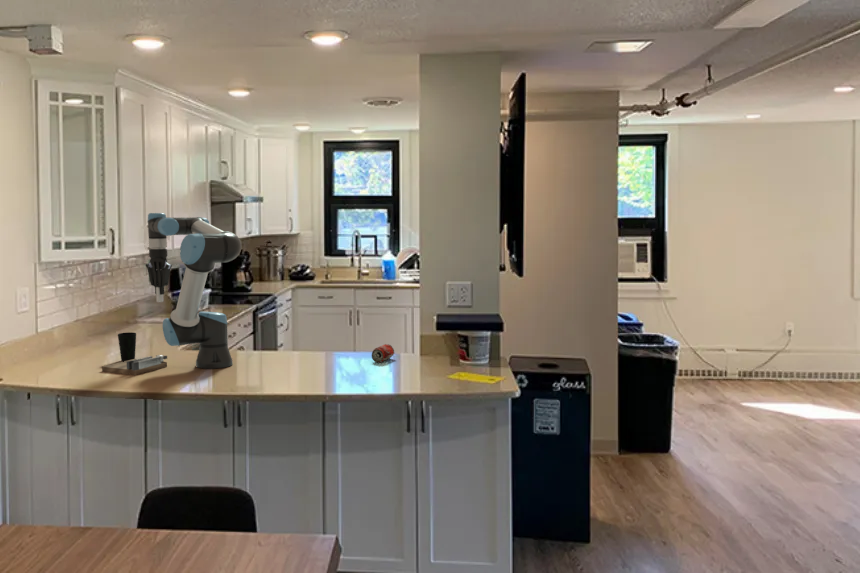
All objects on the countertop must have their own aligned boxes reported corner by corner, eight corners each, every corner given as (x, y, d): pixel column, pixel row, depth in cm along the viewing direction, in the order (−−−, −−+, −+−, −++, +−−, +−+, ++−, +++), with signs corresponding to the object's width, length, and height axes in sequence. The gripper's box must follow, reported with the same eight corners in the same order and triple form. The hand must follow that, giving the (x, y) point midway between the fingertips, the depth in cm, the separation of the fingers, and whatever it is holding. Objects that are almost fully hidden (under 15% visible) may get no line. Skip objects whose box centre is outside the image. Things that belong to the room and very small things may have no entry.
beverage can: (369, 363, 330) (369, 348, 329) (380, 358, 341) (379, 343, 340) (384, 364, 328) (384, 349, 327) (394, 359, 339) (394, 344, 338)
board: (167, 366, 323) (166, 362, 322) (135, 375, 306) (134, 370, 306) (135, 363, 330) (134, 358, 330) (102, 371, 313) (101, 366, 313)
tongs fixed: (169, 361, 324) (169, 354, 323) (134, 370, 305) (134, 363, 305) (162, 360, 325) (162, 353, 325) (127, 369, 307) (127, 362, 307)
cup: (130, 362, 332) (129, 335, 331) (115, 361, 334) (114, 334, 332) (140, 359, 340) (139, 332, 338) (125, 358, 341) (124, 332, 340)
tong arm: (152, 363, 319) (152, 356, 319) (129, 369, 307) (129, 361, 307) (150, 362, 320) (150, 355, 319) (126, 368, 308) (126, 361, 307)
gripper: (175, 248, 331) (177, 301, 333) (152, 247, 336) (154, 300, 339) (163, 249, 324) (165, 303, 327) (140, 248, 329) (142, 302, 332)
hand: (160, 301), depth 333 cm, fingers closed
